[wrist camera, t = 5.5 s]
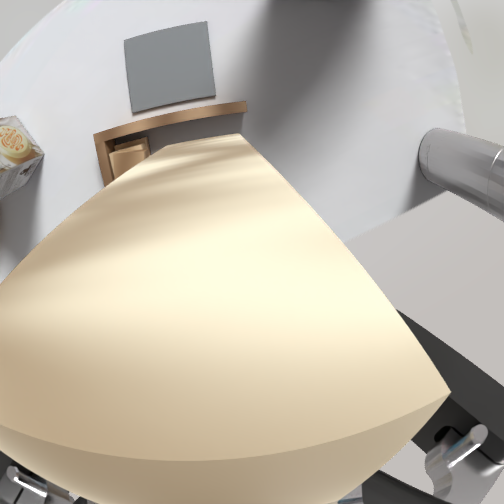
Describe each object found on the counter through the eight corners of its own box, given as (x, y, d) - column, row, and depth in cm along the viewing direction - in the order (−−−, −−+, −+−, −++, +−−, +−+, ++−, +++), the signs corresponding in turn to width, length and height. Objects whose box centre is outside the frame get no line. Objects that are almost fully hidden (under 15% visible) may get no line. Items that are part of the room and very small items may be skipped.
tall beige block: (238, 133, 12) (452, 390, 1) (259, 301, 17) (307, 519, 6) (166, 145, 12) (-67, 387, 1) (204, 309, 17) (208, 529, 6)
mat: (206, 22, 23) (206, 21, 22) (215, 95, 28) (215, 95, 27) (125, 40, 22) (124, 40, 22) (133, 112, 27) (132, 112, 27)
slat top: (148, 149, 27) (144, 151, 25) (152, 217, 30) (148, 223, 29) (119, 151, 26) (113, 154, 24) (124, 217, 30) (119, 224, 28)
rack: (243, 102, 28) (246, 101, 25) (256, 214, 35) (259, 225, 32) (104, 131, 28) (93, 134, 25) (130, 235, 35) (122, 247, 32)
